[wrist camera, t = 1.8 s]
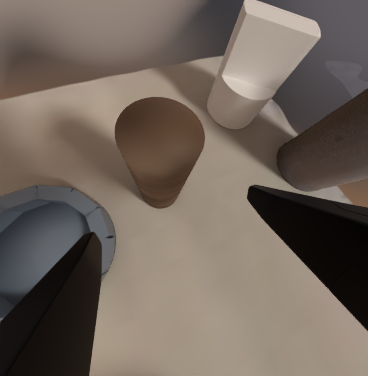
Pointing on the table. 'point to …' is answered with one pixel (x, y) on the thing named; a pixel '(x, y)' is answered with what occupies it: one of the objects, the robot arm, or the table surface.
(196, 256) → the table surface
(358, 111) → the pillar candle
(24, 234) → the ceramic ring dish
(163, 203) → the brown tapered cylinder
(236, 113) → the cylinder with rectangular tab
